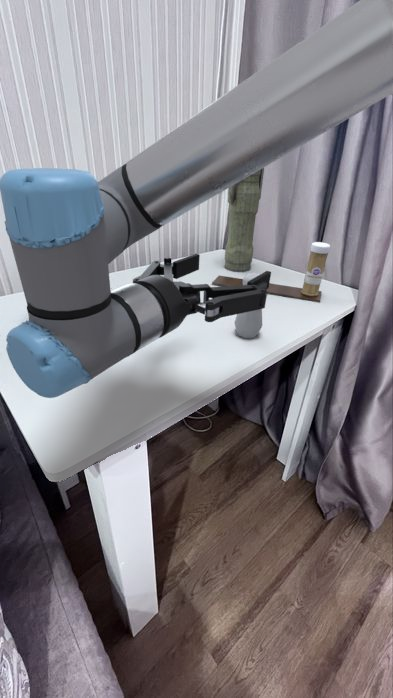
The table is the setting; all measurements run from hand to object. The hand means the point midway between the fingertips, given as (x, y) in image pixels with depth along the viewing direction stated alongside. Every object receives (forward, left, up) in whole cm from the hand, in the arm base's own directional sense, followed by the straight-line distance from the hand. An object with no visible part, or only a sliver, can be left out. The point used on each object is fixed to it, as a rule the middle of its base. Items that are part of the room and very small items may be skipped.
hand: (230, 270), depth 56 cm
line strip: (-2, -37, -17) cm, 41 cm away
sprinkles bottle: (-14, -37, -16) cm, 43 cm away
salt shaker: (-3, -9, -17) cm, 19 cm away
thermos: (+10, -52, -17) cm, 56 cm away
